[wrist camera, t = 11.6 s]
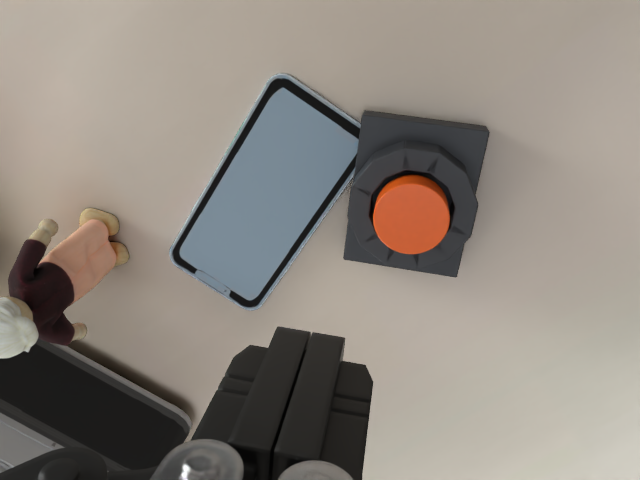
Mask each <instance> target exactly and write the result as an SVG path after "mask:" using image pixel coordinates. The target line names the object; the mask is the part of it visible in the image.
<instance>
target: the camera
mask: <svg viewBox="0 0 640 480" xmlns="http://www.w3.org/2000/svg"><path fill="white" fill-rule="evenodd" d="M191 426H192V422H191V419H190V417H189V416H188V415H187V414H186V413H185V412H184V411H182V410H181V409H179V408H178V407H176V406H175V405H173V404H170V403H168V402H166V401H165V400H163V399H161V398H159V397H157V396H156V395H154V394H152V393H150V392H148V391H147V390H145V389H143V388H141V387H139V386H138V385H136V384H134V383H132V382H130V381H129V380H127V379H125V378H123V377H121V376H120V375H118V374H116V373H114V372H112V371H111V370H109V369H107V368H105V367H103V366H101V365H100V364H98V363H96V362H94V361H92V360H91V359H89V358H87V357H85V356H83V355H82V354H80V353H78V352H76V351H74V350H73V349H71V348H69V347H67V346H64V345H58V344H53V343H49V342H46V341H43V340H41V339H39V338H38V339H37V341H36V343H35V344H34V345H33V346H31V348H30V350H29V352H26V351H23V352H21V353H20V354H18V355H16V356H13V357H10V358H0V473H1V472H4V471H6V470H8V469H10V468H13V467H15V466H17V465H19V464H22V463H24V462H26V461H29V460H31V459H33V458H35V457H38V456H40V455H42V454H44V453H47V452H50V451H52V450H56V449H60V448H66V447H81V448H86V449H90V450H92V451H94V452H96V453H97V454H99V455H100V456H101V457H102V458H103V459H104V461H105V463H106V467H107V472H113V471H126V470H139V469H147V468H151V467H155V466H158V465H160V463H161V462H162V460H163V459H164V458H165V456H166V455H167V454H168V453H169V452H170V451H171V450H173V449H174V448H176V447H177V446H179V445H181V444H183V443H184V441H185V439H186V437H187V436H188V434H189V431H190V429H191Z"/></svg>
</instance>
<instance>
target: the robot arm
mask: <svg viewBox="0 0 640 480" xmlns="http://www.w3.org/2000/svg"><path fill="white" fill-rule="evenodd" d="M344 345H345V338H343V337H338V336H332V335H326V334H320V333H314V332H313V333H312V335H311V333H310V332H307V331H302V330H296V329H290V328H284V327H277V329H276V331H275V333H274V336H273V338H272V340H271V342H270V345H269V347H268V348H265V347H259V346H253V345H250V346H248V347H247V348H246V349H244V350H243V351H242V352H240V353H239V354H238V355H236V356H235V357H234V358H233V360H232V362H231V364H230V366H229V367H228V369H227V371H226V373H225V377H223V379H222V381H221V383H220V385H219V387H218V390H217V391H216V393H215V395H214V396H213V398H212V400H211V402H210V404H209V406H208V408H207V410H206V412H205V414H204V416H203V418H202V420H201V422H200V423H199V425H198V427H197V429H196V431H195V433H194V435H193V437H192V439H191V441H189V442H186V443H183V444H181V445H179V446H177V447H176V448H174V449H173V450H171V451H170V452H169V453H168V454H167V455H166V456H165V458H164V459H163V460H162V462H161V463H160V465H158V466H155V467H151V468H147V469H139V470H126V471H113V472H107V467H106V463H105V461H104V459H103V458H102V457H101V456H100V455H99V454H97V453H96V452H94V451H92V450H90V449H86V448H81V447H66V448H60V449H56V450H52V451H50V452H47V453H44V454H42V455H40V456H38V457H35V458H33V459H31V460H29V461H26V462H24V463H22V464H19V465H17V466H15V467H13V468H10V469H8V470H6V471H4V472H1V473H0V480H362V471H363V463H364V454H365V446H366V438H367V429H368V421H369V413H370V404H371V396H372V388H373V381H372V378H371V376H370V374H369V372H368V370H367V368H366V365H363V364H357V363H351V362H345V361H343V353H344Z"/></svg>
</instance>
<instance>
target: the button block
mask: <svg viewBox="0 0 640 480" xmlns="http://www.w3.org/2000/svg"><path fill="white" fill-rule="evenodd" d="M488 137H489V130H488V129H487V127H486V126H480V125H473V124H465V123H457V122H450V121H442V120H435V119H427V118H419V117H412V116H404V115H396V114H389V113H381V112H374V111H366V110H365V111H364V113H363V115H362V120H361V127H360V135H359V143H358V150H357V158H356V166H355V173H354V181H353V184H352V186H351V192H350V200H349V208H348V227H347V234H346V242H345V250H344V257H343V258H344V259H345V260H351V261H357V262H363V263H369V264H376V265H382V266H388V267H394V268H401V269H407V270H413V271H419V272H425V273H432V274H438V275H444V276H450V277H457V274H458V270H459V265H460V261H461V256H462V252H463V247H464V243H465V242H466V241H467V240H468V239H469V238H470V237H471V234H472V230H473V226H474V221H475V217H476V213H477V208H478V202H477V199H476V196H475V194H476V190H477V185H478V181H479V177H480V172H481V168H482V163H483V159H484V154H485V150H486V146H487V141H488ZM404 175H420V176H424V177H427V178H429V179H431V180H432V181H434V182H435V183H436V184H437V185H439V186H440V188H441V189H442V190H443V192H444V193H445V196H446V198H447V201H448V208H449V214H450V223H449V228H448V231H447V233H446V235H445V237H444V238H443V239H442V241H441V242H440V243H439V244H438V245H437V246H435V247H434V248H432V249H430V250H428V251H426V252H423V253H419V254H404V253H400V252H397V251H394V250H392V249H391V248H389V247H387V246H386V245H385V244H384V243H383V242H382V241H381V240H380V238H379V237H378V235H377V233H376V231H375V228H374V224H373V214H374V209H375V204H376V200H377V197H378V195H379V193H380V191H381V190H382V188H383V187H384V186H385V185H386V184H387V183H389V182H390V181H392V180H393V179H395V178H397V177H400V176H404Z"/></svg>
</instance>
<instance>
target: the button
mask: <svg viewBox="0 0 640 480" xmlns="http://www.w3.org/2000/svg"><path fill="white" fill-rule="evenodd" d="M449 223H450V214H449V208H448V201H447V198H446V196H445V193H444V192H443V190H442V189H441V188H440V186H439V185H437V184H436V183H435V182H434V181H432V180H431V179H429V178H427V177H424V176H420V175H404V176H400V177H397V178H395V179H393V180H392V181H390V182H389V183H387V184H386V185H385V186H384V187H383V188H382V190H381V191H380V193H379V195H378V197H377V200H376V204H375V209H374V214H373V224H374V228H375V231H376V233H377V235H378V237H379V238H380V240H381V241H382V242H383V243H384V244H385V245H386V246H387V247H389V248H391V249H392V250H394V251H397V252H400V253H404V254H419V253H423V252H426V251H428V250H430V249H432V248H434V247H435V246H437V245H438V244H439V243H440V242H441V241H442V239H443V238H444V237H445V235H446V233H447V231H448V228H449Z"/></svg>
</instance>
